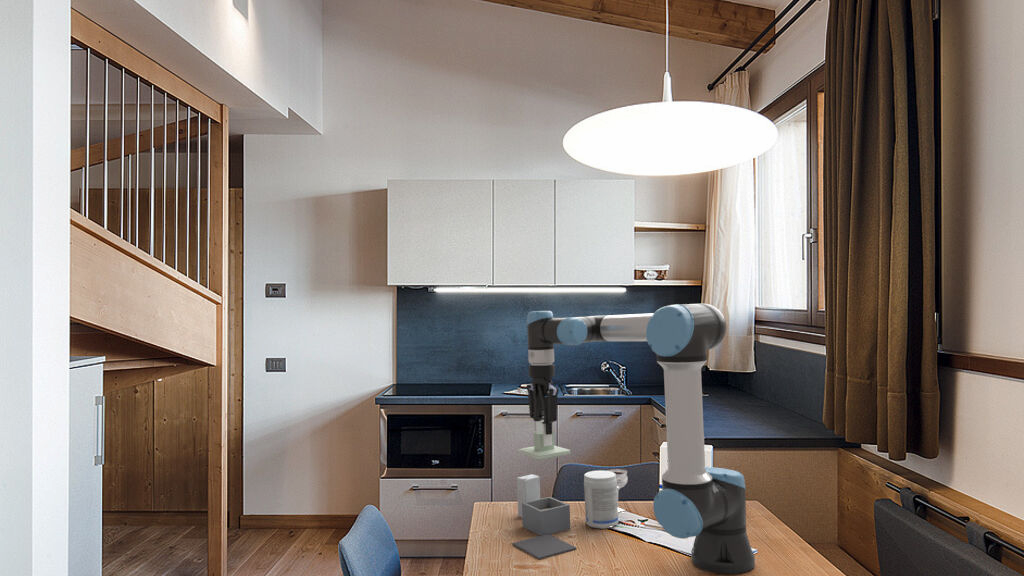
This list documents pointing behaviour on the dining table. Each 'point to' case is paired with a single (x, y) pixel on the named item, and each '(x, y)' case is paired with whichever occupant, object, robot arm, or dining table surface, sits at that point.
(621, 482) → the wineglass
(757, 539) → the dining table surface
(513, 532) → the dining table surface
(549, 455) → the lid
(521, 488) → the skincare box
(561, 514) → the storage box
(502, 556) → the dining table surface
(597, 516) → the supplement tub
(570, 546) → the mat
